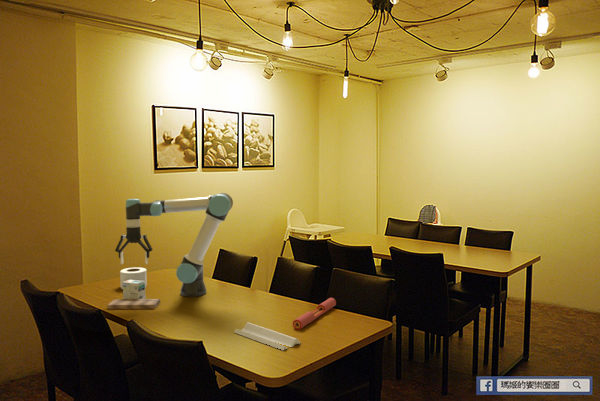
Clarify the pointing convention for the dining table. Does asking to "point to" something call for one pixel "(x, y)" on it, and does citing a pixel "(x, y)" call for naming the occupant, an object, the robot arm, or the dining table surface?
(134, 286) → the light bulb box
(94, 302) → the dining table surface
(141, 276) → the toilet paper roll
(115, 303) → the walnut board
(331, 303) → the blood vessel
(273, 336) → the crown molding
